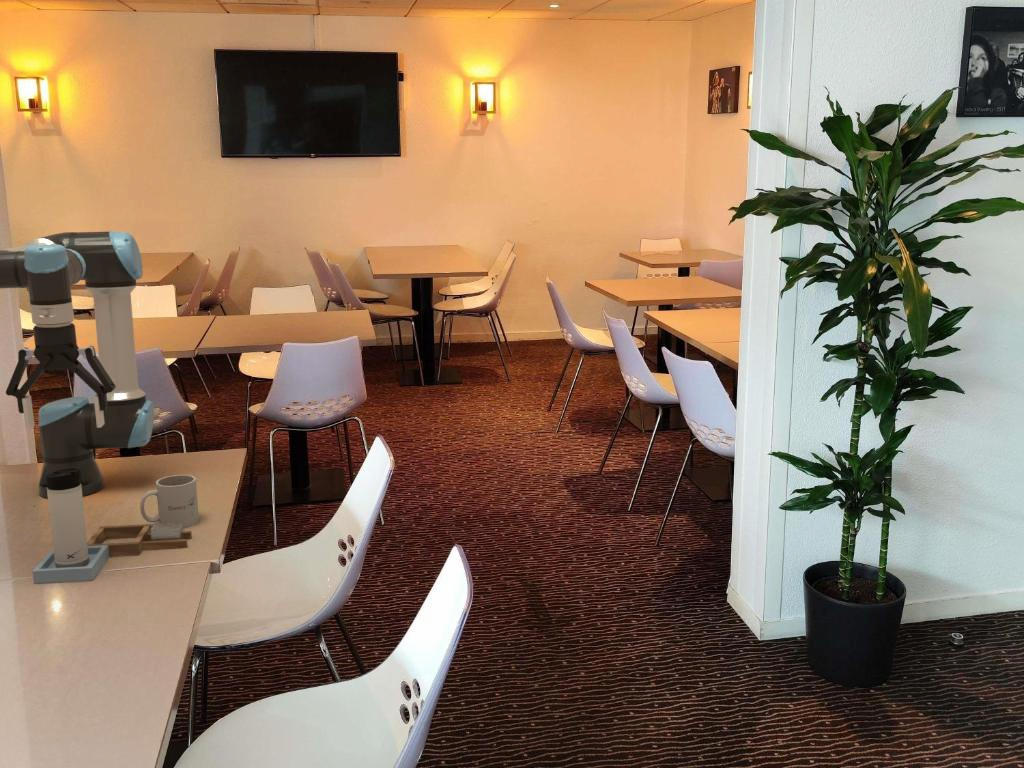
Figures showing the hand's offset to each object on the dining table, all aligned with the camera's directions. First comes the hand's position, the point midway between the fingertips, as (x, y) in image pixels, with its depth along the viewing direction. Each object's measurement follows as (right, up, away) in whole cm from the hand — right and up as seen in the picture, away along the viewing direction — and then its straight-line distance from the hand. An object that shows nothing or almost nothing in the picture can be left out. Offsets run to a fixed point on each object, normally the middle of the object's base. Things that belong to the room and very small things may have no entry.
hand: (65, 427), depth 193 cm
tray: (+2, -29, 0) cm, 29 cm away
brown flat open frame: (+10, -26, +13) cm, 31 cm away
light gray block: (+16, -26, +14) cm, 33 cm away
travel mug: (+2, -28, 0) cm, 28 cm away
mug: (+12, -23, +26) cm, 37 cm away
